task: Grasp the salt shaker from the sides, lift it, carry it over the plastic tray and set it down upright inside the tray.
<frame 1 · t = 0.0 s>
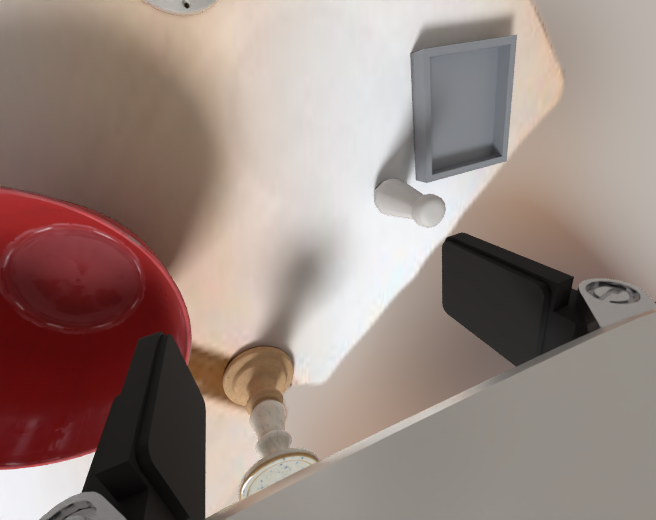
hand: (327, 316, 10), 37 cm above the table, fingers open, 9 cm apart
candle holder: (258, 373, 56), on the table
salt shaker: (384, 194, 51), on the table
mixing bowl: (78, 277, 40), on the table
tray: (456, 112, 50), on the table
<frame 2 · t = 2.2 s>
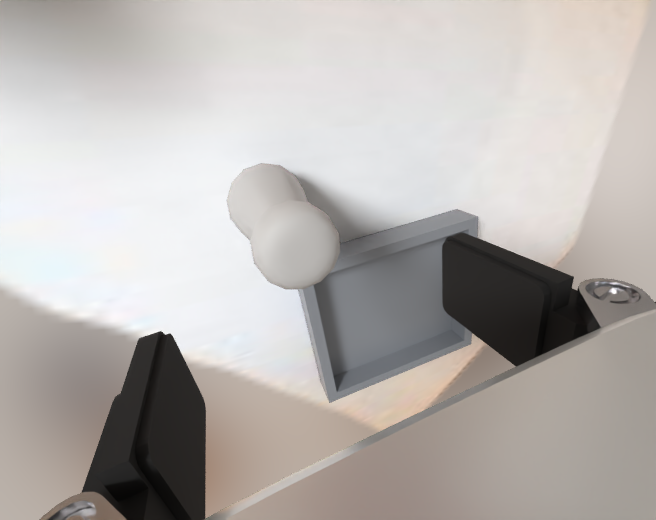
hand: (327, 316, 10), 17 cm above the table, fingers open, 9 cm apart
salt shaker: (262, 196, 26), on the table
tray: (385, 299, 34), on the table
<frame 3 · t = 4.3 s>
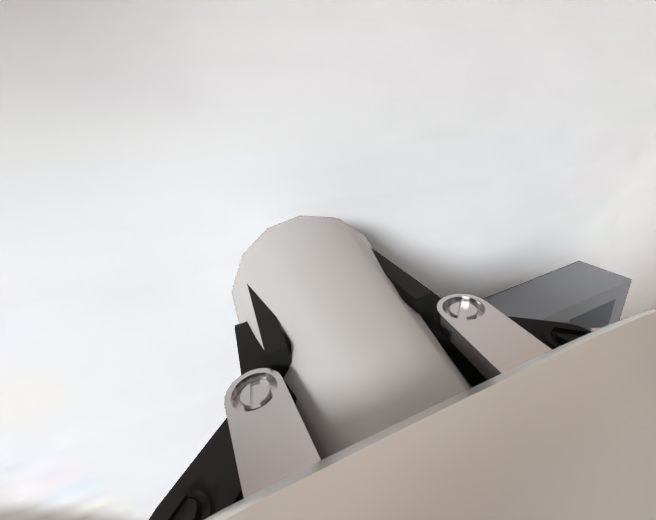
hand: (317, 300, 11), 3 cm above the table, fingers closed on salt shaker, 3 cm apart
salt shaker: (294, 264, 14), on the table, touching gripper
tray: (467, 394, 23), on the table
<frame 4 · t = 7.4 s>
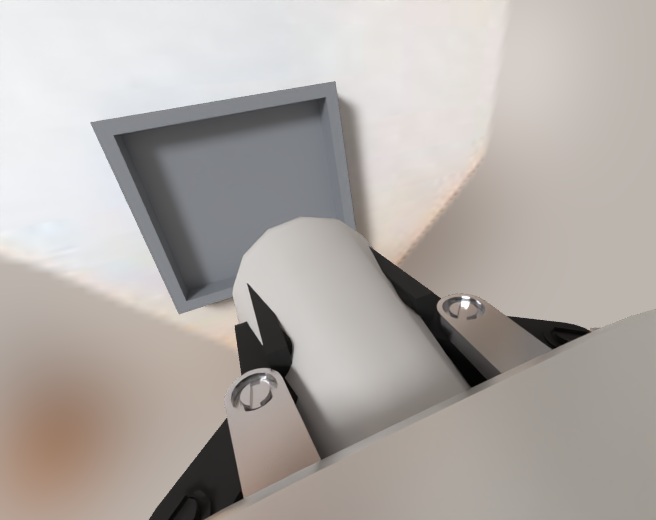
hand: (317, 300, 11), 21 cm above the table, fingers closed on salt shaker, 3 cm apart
salt shaker: (294, 265, 14), point 17 cm above the table, touching gripper
tray: (249, 196, 29), on the table
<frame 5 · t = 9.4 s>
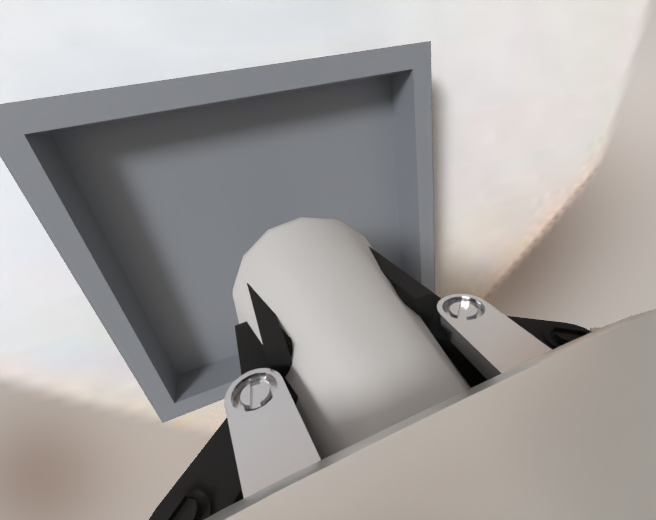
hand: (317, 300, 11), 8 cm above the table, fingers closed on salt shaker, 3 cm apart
salt shaker: (294, 265, 14), point 5 cm above the table, touching gripper
tray: (274, 231, 19), on the table
when the fingers open (6 cm above the table, at t = 10.7 s): salt shaker drops 1 cm, resting on tray.
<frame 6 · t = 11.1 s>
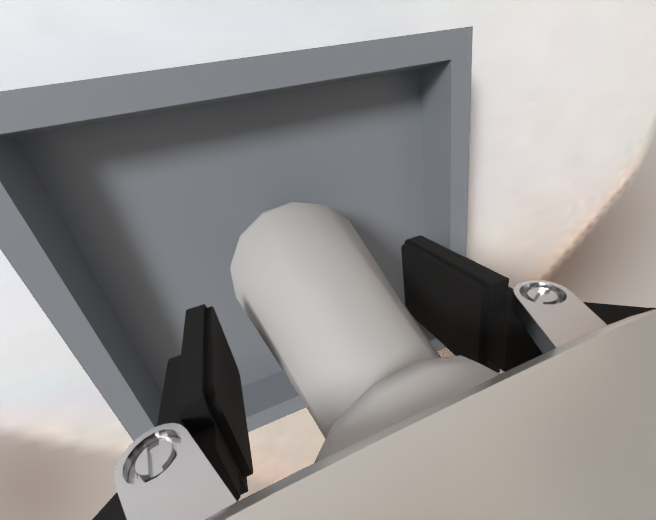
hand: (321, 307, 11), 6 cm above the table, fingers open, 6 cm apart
salt shaker: (287, 248, 16), point 1 cm above the table, touching tray
tray: (283, 248, 16), on the table
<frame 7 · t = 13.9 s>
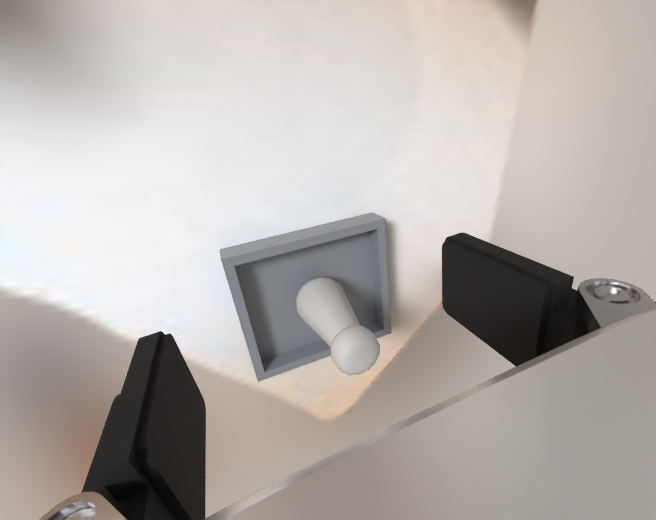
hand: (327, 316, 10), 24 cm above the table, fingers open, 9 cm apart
salt shaker: (314, 291, 38), point 1 cm above the table, touching tray
tray: (311, 290, 38), on the table
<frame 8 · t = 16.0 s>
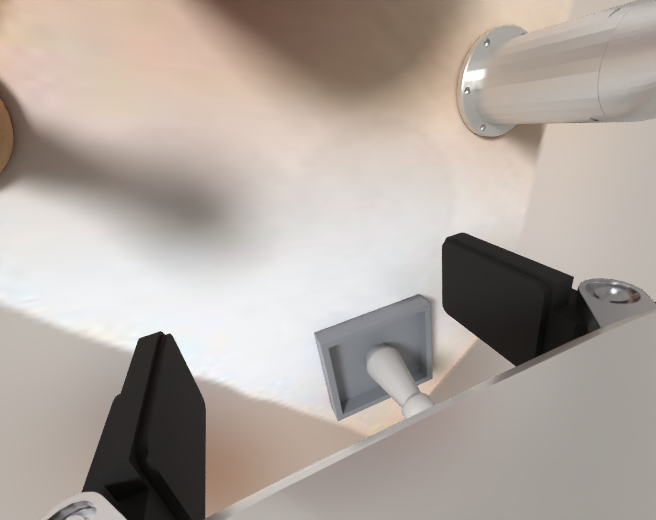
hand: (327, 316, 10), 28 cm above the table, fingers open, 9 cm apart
salt shaker: (376, 353, 51), point 1 cm above the table, touching tray
tray: (374, 351, 51), on the table
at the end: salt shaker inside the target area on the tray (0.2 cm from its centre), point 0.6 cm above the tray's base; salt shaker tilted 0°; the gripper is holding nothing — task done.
